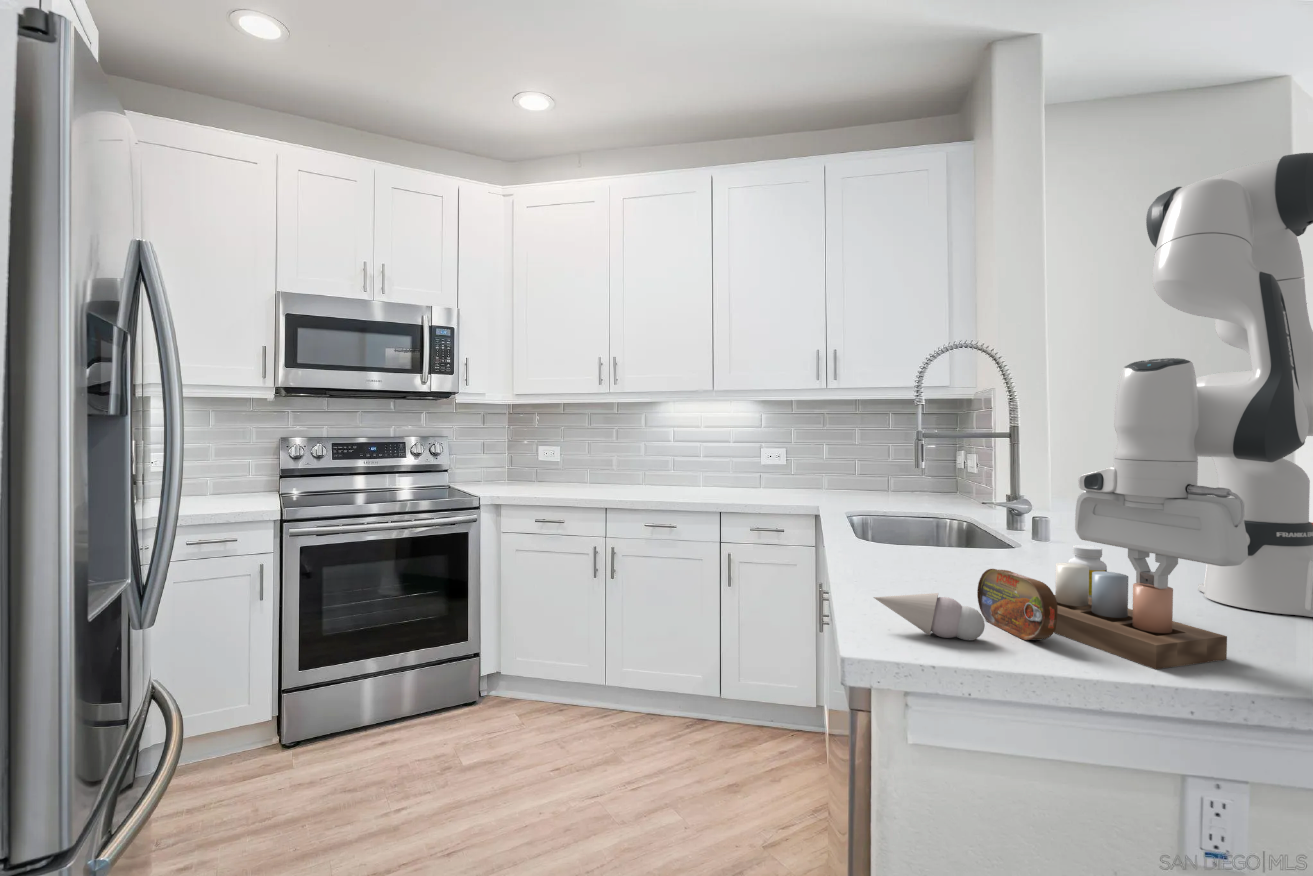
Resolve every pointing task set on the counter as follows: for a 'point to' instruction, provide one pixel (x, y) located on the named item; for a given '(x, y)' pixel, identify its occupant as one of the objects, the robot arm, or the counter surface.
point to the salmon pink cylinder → (1152, 608)
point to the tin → (1017, 604)
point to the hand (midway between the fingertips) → (1151, 586)
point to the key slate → (1110, 594)
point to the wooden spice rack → (1140, 638)
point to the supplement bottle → (1089, 560)
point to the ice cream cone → (937, 615)
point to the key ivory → (1072, 584)
